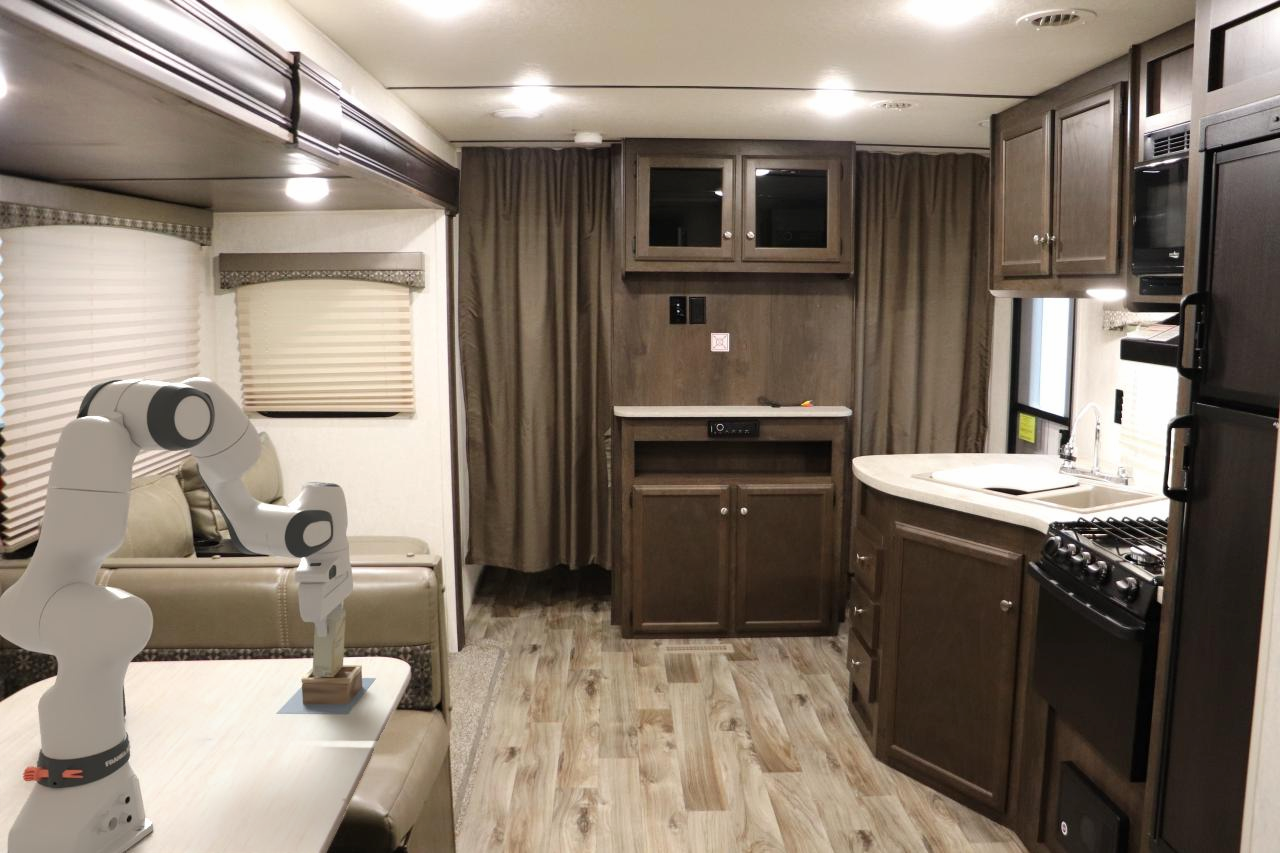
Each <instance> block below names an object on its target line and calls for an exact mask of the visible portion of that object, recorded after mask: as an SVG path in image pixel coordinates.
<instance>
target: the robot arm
mask: <svg viewBox="0 0 1280 853" xmlns="http://www.w3.org/2000/svg"><path fill="white" fill-rule="evenodd" d="M58 438H59V439H58V440H57V441H58V442H57V444H56V448H55V451H54V454H53V456H52V457H53V458H52V460H51V461H52V462H51V465H50V466H51V467H50V471H49V475H48V476H49V477H48V483H47V490H46V496H45V505H44V512H43V516H42V517H43V518H42V523H41V529H40V530H41V531H40V534H39V538H38V542H37V545H36V547H35V550H34V552H33V555H32V557H31V559H30V561H29V563H28V565H27V566H26V568H25V571H24V573H22V575H21V576H20V578H19V579H18V580H17V581H16V582H15V583H14V584H12V585H11V586H10V587H9V588H7V589H6V590H5V591H4V592H3V593H2V594H1V596H0V636H1V637H2V638H4V639H5V640H7V641H9V642H10V643H12V644H14V645H15V646H18V647H19V648H21V649H23V650H26V651H30V652H33V653H34V652H35V653H40V654H43V655H44V654H46V655H50V656H54V657H55V658H56V661H57V665H58V666H57V673H56V674H57V675H56V677H55V678H56V679H55V682H54V684H53V685H51V686H50V687H49V688H48V689H47V690H46V691H44V692H43V693H42V695H41V697H39V698H40V699H39V700H38V704H37V705H38V706H37V709H38V710H37V712H38V722H39V732H40V744H41V749H40V750H39V754H38V759H37V760H36V766H35V767H34V766H27V767H26V768H25V769H24V770H23V774H22V775H23V776H22V778H23V780H24V782H33V781H34V782H35V785H34V787H33V788H32V790H31V792H30V794H29V795H28V797H27V798H26V800H25V803H24V804H23V806H22V807H21V809H20V811H19V813H18V815H17V817H16V819H15V821H14V822H13V823H12V826H11V828H10V829H9V832H8V836H7V852H6V853H125V852H126V851H127V850H129V849H130V848H131V847H133V846H134V845H135V844H137V843H138V842H139V841H141V840H142V839H144V837H146V836H148V835H149V834H150V833H151V832H152V831H154V824H153V821H152V820H150V819H149V818H148V817H146V812H145V808H144V800H143V796H142V791H141V789H142V788H141V785H140V784H141V783H140V781H139V778H138V776H137V775H136V774H135V772H134V770H133V768H132V767H131V764H130V762H129V759H130V757H131V750H130V749H131V743H130V742H131V741H130V739H129V734H128V732H126V729H125V717H124V712H123V684H125V678H126V675H127V671H128V669H129V666H130V664H131V661H132V660H133V659H134V658H135V657H136V656H137V655H138V654H140V653H141V652H142V651H143V650H144V648H145V647H146V645H147V644H148V642H149V641H150V638H151V636H152V633H153V628H154V617H153V612H152V609H151V607H150V606H149V604H148V603H147V602H146V601H145V600H144V599H143V598H142V597H138V596H136V595H134V594H132V593H130V592H128V591H127V590H123V589H122V588H118V587H115V586H114V587H112V586H107V585H100V584H96V580H97V576H98V575H99V571H100V569H101V567H102V565H103V564H104V563H105V561H106V559H107V558H108V557H109V556H110V555H111V554H113V553H115V552H117V551H118V550H119V549H120V548H121V547H122V545H123V544H124V542H125V540H126V535H127V534H126V533H127V527H128V518H129V509H130V502H131V492H132V484H133V482H132V481H133V464H134V462H135V460H136V458H137V456H138V455H139V453H140V451H170V452H177V451H184V450H187V452H188V453H189V454H190V455H191V456H192V458H193V459H194V461H195V462H196V471H197V475H198V477H199V480H200V481H201V483H202V485H203V487H204V488H205V490H206V491H207V493H208V495H209V496H210V498H211V499H212V501H213V503H214V504H215V507H216V508H217V510H218V511H219V512H220V514H221V516H222V517H223V519H224V522H225V524H226V527H227V531H228V534H229V538H230V540H231V543H232V544H233V546H234V547H235V548H236V550H238V551H239V552H241V553H242V554H244V555H264V556H265V555H267V556H272V557H279V558H280V557H281V558H282V557H283V558H289V559H301V560H300V562H299V565H298V567H297V569H296V570H295V573H294V579H295V583H299V584H298V586H297V587H298V588H297V589H298V590H297V596H298V606H299V613H300V617H301V620H302V621H303V622H304V623H314V626H315V625H316V628H317V635H318V636H319V637H325V636H327V635H328V633H329V626H327V624H326V620H327V615H328V614H329V613H330V612H331V611H332V610H333V609H341V610H344V604H345V602H344V600H346V599H347V598H348V596H350V595H351V594H352V592H353V589H354V579H353V572H352V571H353V570H352V564H351V561H350V560H351V559H350V558H351V557H350V545H349V544H350V543H349V540H348V537H347V536H348V535H347V529H348V525H349V524H348V509H347V508H348V507H347V502H346V496H345V492H344V489H343V488H342V487H341V486H340V485H339V484H337V483H333V482H320V481H319V482H318V481H310V482H306V483H303V485H301V486H302V487H301V491H300V493H299V495H298V496H297V497H296V498H295V499H294V500H292V501H291V503H288V504H287V505H280V504H271V503H267V502H262V501H260V500H257V499H256V498H254V497H253V496H252V494H251V492H250V491H249V490H248V488H247V486H246V484H245V483H244V481H243V477H244V476H245V475H247V474H248V473H249V472H250V471H251V470H252V469H253V468H254V467H255V465H256V464H257V462H258V460H259V459H260V457H261V454H262V448H263V446H262V445H263V443H262V439H261V437H260V434H259V432H258V430H257V429H256V427H255V426H254V424H253V423H252V421H251V420H250V418H249V417H248V416H247V414H246V413H245V412H244V411H243V410H242V408H241V407H240V405H239V404H238V403H237V402H236V401H235V400H234V399H233V397H231V396H230V395H229V393H228V392H227V391H225V389H224V388H222V387H221V386H220V385H219V384H218V383H216V382H215V381H213V380H212V379H209V378H208V377H192V378H188V379H186V380H183V381H181V382H171V383H170V382H165V381H156V380H152V379H128V380H127V379H126V380H124V379H123V380H122V379H114V380H113V379H112V380H108V381H103V382H101V383H98V384H96V385H95V386H93V387H91V389H89V390H88V391H87V393H86V394H85V396H84V397H83V399H82V401H81V403H80V406H79V410H78V413H77V416H76V419H73V420H71V421H69V422H67V424H66V425H65V426H64V428H63V429H62V431H61V433H60V435H59V437H58Z"/></svg>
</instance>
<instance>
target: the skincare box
mask: <svg viewBox="0 0 1280 853" xmlns="http://www.w3.org/2000/svg"><path fill="white" fill-rule="evenodd" d="M346 611H347V610H346V609H343V610H341V609H333V610H332V611H331V612H330V613H329V614H328V615H327V620H326V624H327V626H329V633H328V635H327V636H325V637H319V636H318V635H317V628H316V625H315V624H314V634H313V635H314V636H313V637H314V638H313V659H312V668H313V675H315V676H323V677H334V676H335V675H336V674H337V672H338V671H339V670H340V669H341V668H342V666H343V665H344V651H345V632H346V614H347V613H346Z"/></svg>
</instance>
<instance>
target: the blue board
mask: <svg viewBox="0 0 1280 853" xmlns="http://www.w3.org/2000/svg"><path fill="white" fill-rule="evenodd" d="M376 679H377V677H362V687H361V689H360V690H359V691H358V692H357V694H356V695H355V696H354V697H353V699H352V700H351V701H350V702H349V704H303V697H302V686H301V687H300V688H299V689H298V690H296V692H295V693H294V694H293V695H292V696H291V697H290V698H289V699H288V700H287V701H286V702H285V703H284V704H283V705H282V707H281V708H280V709H279V710H277V712H276V714H288V715H289V714H293V715H297V714H298V715H300V714H301V715H306V714H307V715H349V714H350V713H351V711H352V710H353V708H354V707H355V706H356V705H357V703H358V702H359V701H360V700H361V698H362V697H363V696H364V694H365V693H366V692H367V691H368V689H369V688H370V687H371V686H372V684H373V683H374V682H375V680H376Z"/></svg>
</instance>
